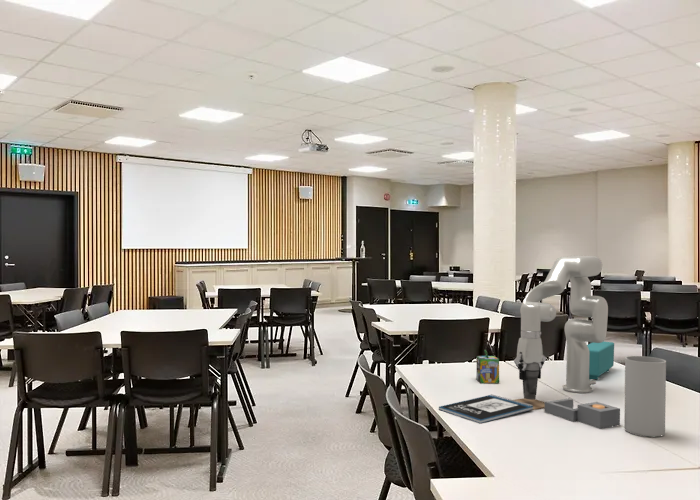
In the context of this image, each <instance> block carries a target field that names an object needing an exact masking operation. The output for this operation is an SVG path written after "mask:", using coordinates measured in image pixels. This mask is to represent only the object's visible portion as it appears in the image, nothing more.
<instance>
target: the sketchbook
mask: <svg viewBox="0 0 700 500" xmlns="http://www.w3.org/2000/svg"><path fill="white" fill-rule="evenodd" d="M512 400H513V401H512ZM518 402H519V401H515V399H511V398H506V397H503V396H500V395H496V394H492V393H491V394H488V395H484V396H480V397H475V398H470V399H467V400H463V401H458V402H454V403H450V404H444V405H440V406H438V410H439V411H442V412H445V413H448V414H451V415H454V416H456V417H460V418H463V419H465V420H469V421H472V422H475V423H478V424H483V423H487V422H490V421H494V420H498V419H502V418H506V417H510V416H513V415H516V414H517V415H518V414H520V413H526V412H529V410H531V411H533V410H532V409H533V405H529V404H527V405H526V403H522V402H520V403H518Z"/></svg>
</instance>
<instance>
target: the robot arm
mask: <svg viewBox="0 0 700 500" xmlns="http://www.w3.org/2000/svg"><path fill="white" fill-rule="evenodd" d="M602 269H603V262H602V260H601V258H600V257H599V256H595V255H568V256H561V257H558V258H557V259H556V260H555V261H554V262H553V264H552V267H551V268H550V270H549V272H548V274H547V276H546V278H545V280H544V281H543V282H542V283H540V284H538V285H536V286H534V287H533V288H532V289H530V291H528V293H526V295H525V297H524V299H523V301H522V303H521V306H520V309H519V312H520V337H519V338H518V343H517V349H516V357H515V359H513V362H514V364H515V366H516V367H517V369H518V371H519V372H518V373H519V374H518V378H519V380H521V381H523V380H524V381H525V380H526V370H525V368H526V366H527V364H530V363H533V362H536V363H538V365H539V369H540V371H539V375H538V380H540V379H542V369H543V366H544V364H545V362H546V361H547V357H546V356H545V355H544V354H543V353H544V352H543V344H542V343H543V342H542V338H541V335H542V331H541V322H544V323H545V322H547V323H548V322H552V321H553V320H555V318H556V317H557V309H556V307H555V306H554V305H553V304H552V303H546V302H541V301H542V300H544V299H547V298H551V297H553V296H558V295H560V294H561V293H563V292H564V291H565V289H566V287H567V285H568V282H569V281H570V298H569V299H570V300H569V311H570V313H571V314H572V315H573V316H577V317H583V318H592V320H590V319H580V318H572V319H571V318H570V319H568V320H567V321H566V322H565V324H564V335H565V341H566V366H565V367H566V375H565V377H566V380H565V382H566V383H565V384H563V385H562V390H564V391H566V392H569V393H570V392H572V393H577V394H587V393H589V392H590V393H592V392H593V387H591V386H593V385H596V384H597V380H590V379H589V348H588V346H587V345H588V344H587V343H588V342H589V343H592V342H593V343H601V342H603V341H604V342H605V340H606V337H607V330H608V315H609V306H608V305H609V304H608V302H607V300H606V299H605V298H604V296H603V297H602V296H600V295H592V283H591V281H590V279H589V277H595V276H598V275H599V274H600V273H601V272H602ZM586 342H587V343H586ZM522 365H523V366H522ZM590 393H589V394H590Z"/></svg>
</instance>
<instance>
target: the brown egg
mask: <svg viewBox="0 0 700 500" xmlns="http://www.w3.org/2000/svg"><path fill="white" fill-rule="evenodd" d="M593 407H594V408H597V409H603V408H605V406H603V405H599V404H594V405H593Z"/></svg>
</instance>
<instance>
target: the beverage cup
mask: <svg viewBox="0 0 700 500" xmlns="http://www.w3.org/2000/svg"><path fill="white" fill-rule="evenodd" d="M522 366H523V365H522ZM525 370H526V380H525V381H524V380H522V390H523V391H522V392H523V398H525V399H530V400H534V399H536V397H537V388H538V380H539V379H538V375H539V371H540V369H539V365H538V363H536V362H533V363H530V364H527V366H526V368H525Z"/></svg>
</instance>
